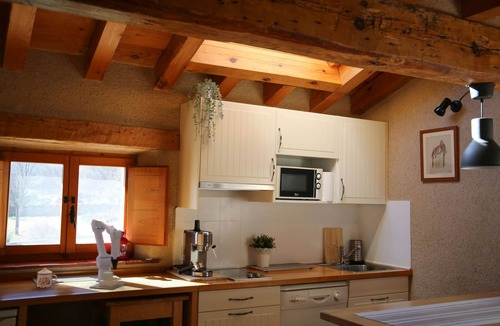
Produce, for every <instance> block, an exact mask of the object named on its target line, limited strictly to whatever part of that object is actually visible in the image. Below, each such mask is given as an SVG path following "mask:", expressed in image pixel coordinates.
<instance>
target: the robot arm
mask: <svg viewBox="0 0 500 326" xmlns="http://www.w3.org/2000/svg"><path fill="white" fill-rule="evenodd" d="M90 226H91V229H92V232H93V233H94V234H93V235H94V238H95V242H96V247H97V253H98V255H97V257H96V258H95V265H96V267H97V269H98V275H97V276H98V277H97V279H96V280H95V282H99V281H101V280H103V273H105V272H112V270H113V271H114V270H117V268H118V263H119V261H120V256H121V254H120V252H121V251H120V250H121V239H122V238H123V232H122V230H121V229H117V228H116V227H114V225H111V224H109V222H108V219H107V218H93V219H92V220H91V224H90ZM104 232H106V233H107V234H108V235H109V237H110V242H111V245H110V246H111V247H110V254H109V253H107V250H106V244H105V241H104V237H103V233H104ZM111 268H112V269H111Z"/></svg>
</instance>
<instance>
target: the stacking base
mask: <svg viewBox="0 0 500 326" xmlns="http://www.w3.org/2000/svg"><path fill="white" fill-rule="evenodd" d="M126 285H127V283H126V282H119V279H114V278H113V280H112V281H103V280H101V281H98V283H97V284H93V285H91V286H89V289H93V290H96V289H97V290H108V291H109V290H110V291H113V290H116V289H118V288H121V287H124V286H126Z"/></svg>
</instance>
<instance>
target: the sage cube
mask: <svg viewBox="0 0 500 326" xmlns="http://www.w3.org/2000/svg"><path fill="white" fill-rule="evenodd" d="M113 279H114V271H111V272H105V273H103V281H112V280H113Z"/></svg>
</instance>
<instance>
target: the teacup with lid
mask: <svg viewBox="0 0 500 326" xmlns="http://www.w3.org/2000/svg"><path fill="white" fill-rule="evenodd" d="M36 274H37V280H36V287H37V288H39V287H40V288H41V289H45V287H46V288H51V287H52V283H55V282H56V281H57V280H58V276H57V275H56V274H53V271H51V270H49V269H47V267H43V269H41V270H40V271H37V273H36ZM53 277H55V280H53V281H52V279H53Z"/></svg>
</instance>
